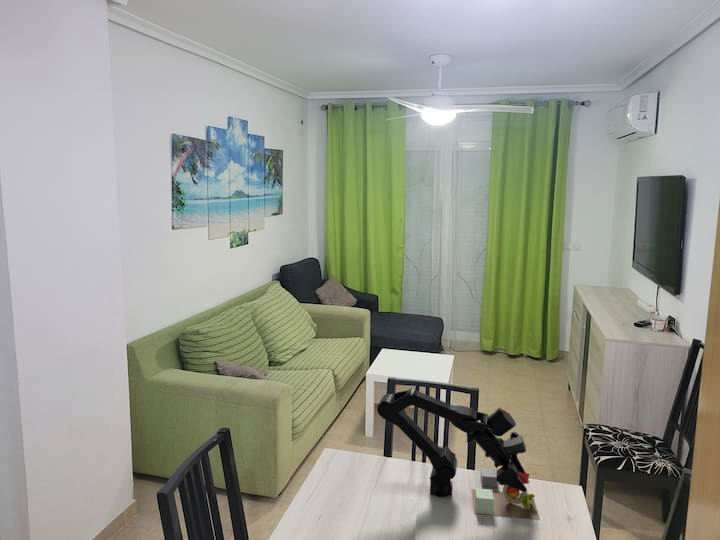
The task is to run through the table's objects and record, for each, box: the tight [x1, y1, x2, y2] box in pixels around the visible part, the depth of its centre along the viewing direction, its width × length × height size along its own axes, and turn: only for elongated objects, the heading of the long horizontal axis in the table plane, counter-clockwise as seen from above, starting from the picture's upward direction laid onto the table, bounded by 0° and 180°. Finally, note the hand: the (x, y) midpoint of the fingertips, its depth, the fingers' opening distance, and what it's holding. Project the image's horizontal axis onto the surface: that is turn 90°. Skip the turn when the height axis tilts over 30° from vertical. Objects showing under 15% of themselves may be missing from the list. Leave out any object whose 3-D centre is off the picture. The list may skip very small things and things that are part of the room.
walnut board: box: [471, 488, 541, 521], centre depth 168 cm, size 19×13×2 cm
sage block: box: [475, 487, 494, 515], centre depth 165 cm, size 5×5×5 cm
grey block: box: [480, 467, 499, 488], centre depth 180 cm, size 5×5×5 cm
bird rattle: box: [502, 472, 536, 509], centre depth 167 cm, size 6×11×9 cm
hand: (525, 482), depth 166 cm, fingers open, 9 cm apart
